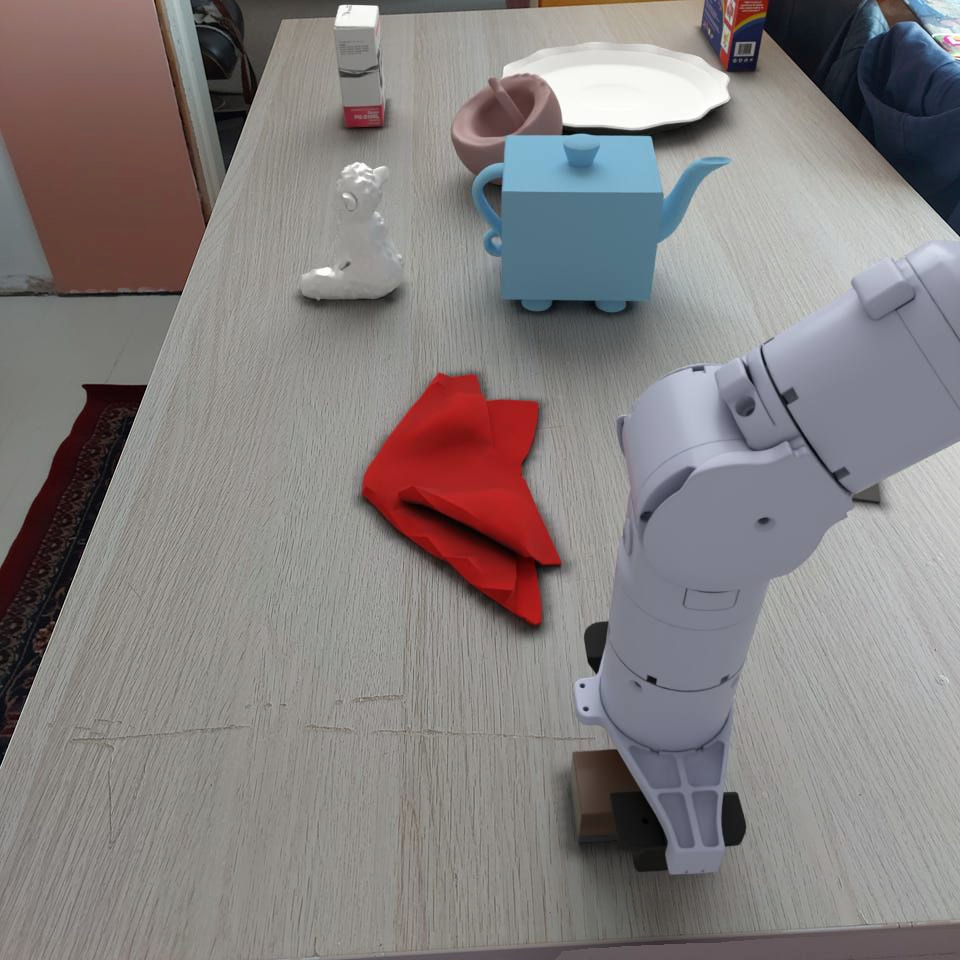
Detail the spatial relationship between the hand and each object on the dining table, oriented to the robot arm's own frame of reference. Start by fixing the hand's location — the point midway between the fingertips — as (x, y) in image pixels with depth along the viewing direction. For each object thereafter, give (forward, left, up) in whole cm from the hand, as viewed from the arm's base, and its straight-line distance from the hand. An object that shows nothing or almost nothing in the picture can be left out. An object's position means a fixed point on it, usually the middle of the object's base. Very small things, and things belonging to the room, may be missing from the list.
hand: (642, 793), depth 47 cm
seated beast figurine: (+30, -47, -2) cm, 56 cm away
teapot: (+9, -51, -2) cm, 52 cm away
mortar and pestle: (+21, -71, -2) cm, 74 cm away
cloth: (+15, -22, -2) cm, 27 cm away
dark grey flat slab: (-12, -30, -1) cm, 32 cm away
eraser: (0, 0, -1) cm, 1 cm away
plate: (+12, -96, -2) cm, 97 cm away
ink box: (+42, -86, -2) cm, 96 cm away
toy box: (-2, -118, -2) cm, 118 cm away
